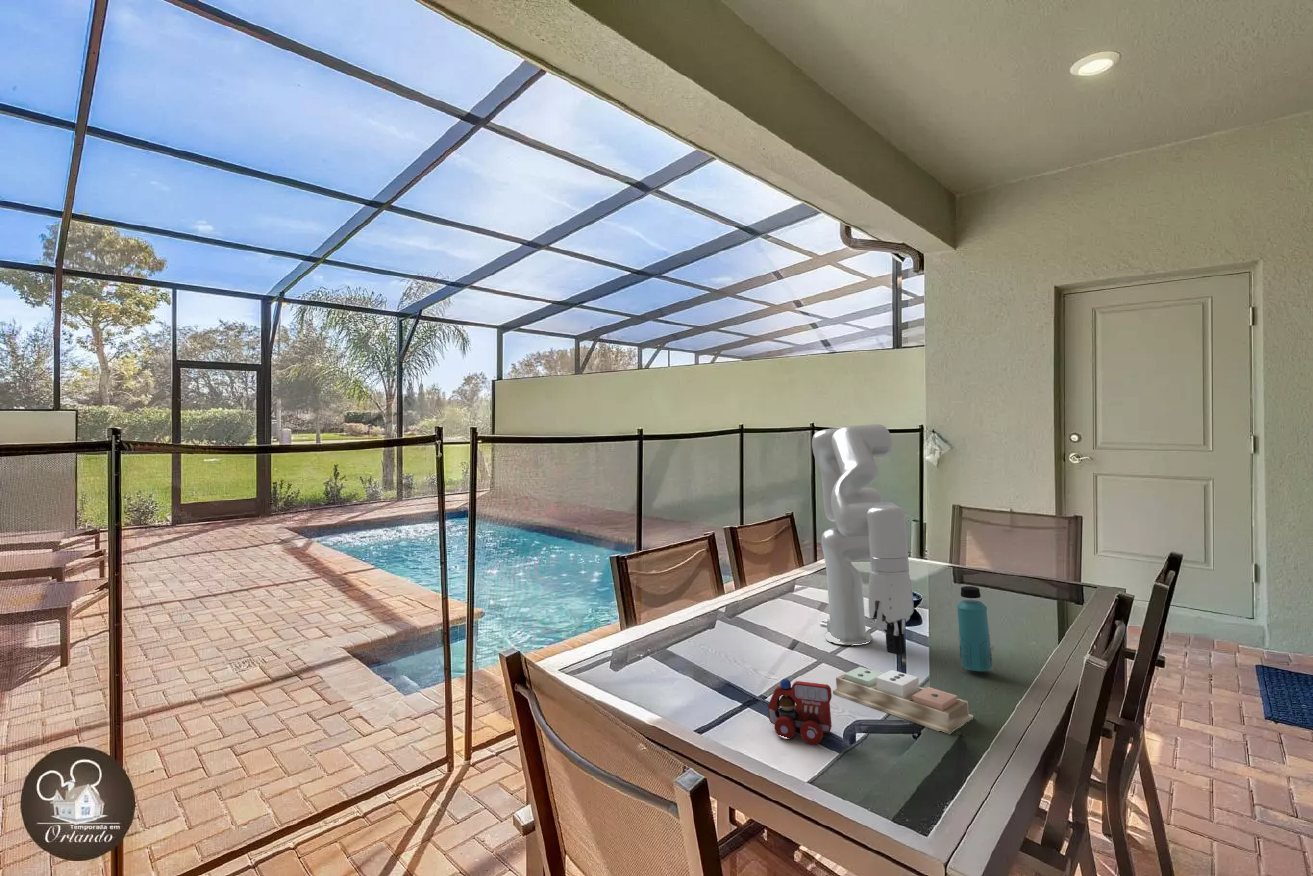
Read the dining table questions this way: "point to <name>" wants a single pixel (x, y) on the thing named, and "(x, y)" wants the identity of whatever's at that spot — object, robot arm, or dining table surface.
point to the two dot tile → (862, 676)
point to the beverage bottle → (974, 631)
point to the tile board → (904, 706)
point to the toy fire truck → (801, 710)
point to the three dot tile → (897, 684)
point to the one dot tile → (935, 699)
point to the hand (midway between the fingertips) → (896, 652)
